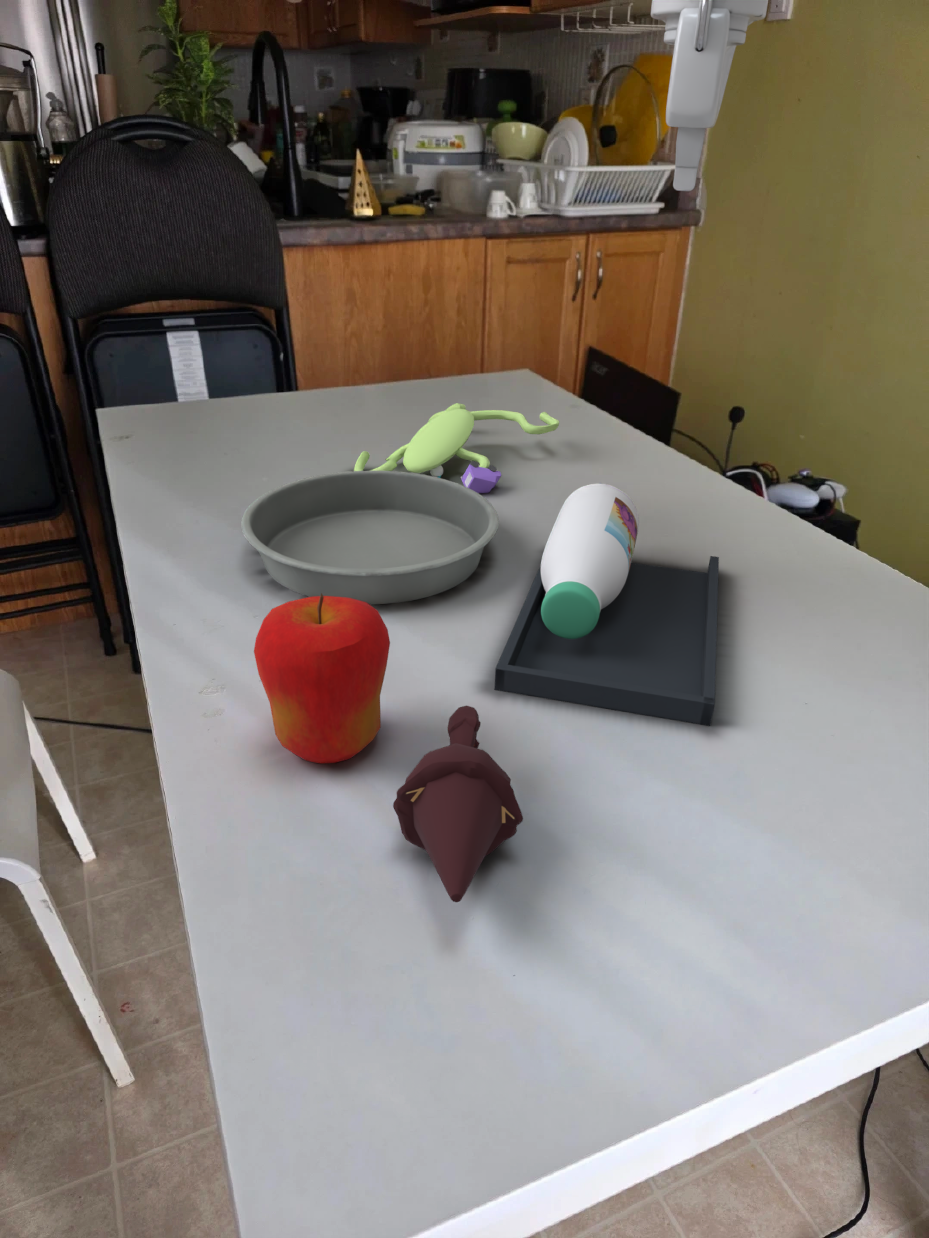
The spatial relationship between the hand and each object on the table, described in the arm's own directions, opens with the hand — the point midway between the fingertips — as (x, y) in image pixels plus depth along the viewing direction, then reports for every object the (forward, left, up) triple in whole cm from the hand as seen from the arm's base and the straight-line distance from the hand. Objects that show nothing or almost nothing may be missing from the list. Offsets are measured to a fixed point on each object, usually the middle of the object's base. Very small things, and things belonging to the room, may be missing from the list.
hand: (683, 190), depth 75 cm
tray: (-6, +17, -33) cm, 38 cm away
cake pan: (+20, +19, -33) cm, 43 cm away
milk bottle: (+2, +5, -29) cm, 29 cm away
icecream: (-10, +47, -33) cm, 58 cm away
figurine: (+29, -9, -33) cm, 45 cm away
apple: (+3, +44, -33) cm, 55 cm away
